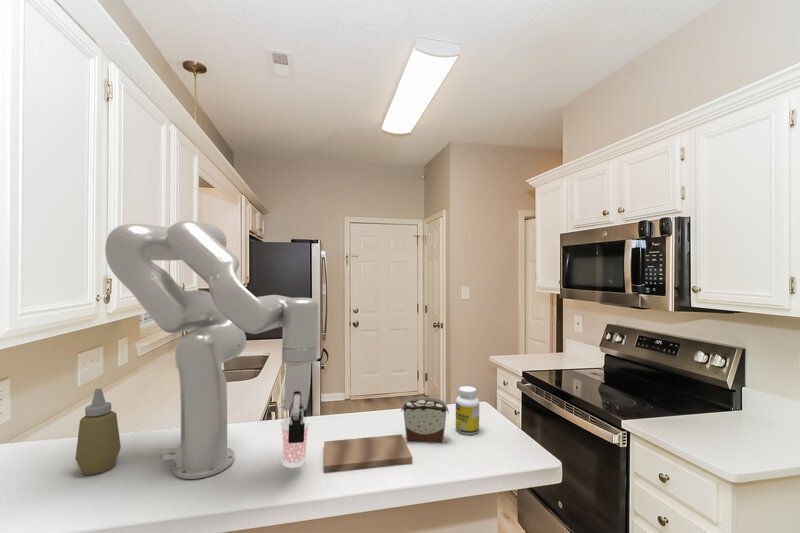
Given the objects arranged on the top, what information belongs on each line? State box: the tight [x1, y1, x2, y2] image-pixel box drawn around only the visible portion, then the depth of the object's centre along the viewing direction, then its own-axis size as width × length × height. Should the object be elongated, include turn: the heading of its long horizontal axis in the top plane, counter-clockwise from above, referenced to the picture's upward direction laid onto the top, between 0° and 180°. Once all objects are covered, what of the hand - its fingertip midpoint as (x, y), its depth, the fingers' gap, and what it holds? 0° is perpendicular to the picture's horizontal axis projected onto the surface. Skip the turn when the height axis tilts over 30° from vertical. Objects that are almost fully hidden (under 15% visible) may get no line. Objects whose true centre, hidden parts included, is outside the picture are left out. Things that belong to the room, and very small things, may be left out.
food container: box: [400, 396, 450, 445], centre depth 101 cm, size 12×6×10 cm, turn 85°
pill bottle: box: [455, 385, 480, 436], centre depth 106 cm, size 6×6×12 cm
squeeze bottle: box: [74, 388, 121, 476], centre depth 86 cm, size 8×8×18 cm
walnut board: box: [323, 434, 413, 474], centre depth 92 cm, size 20×12×2 cm, turn 101°
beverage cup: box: [280, 416, 311, 469], centre depth 84 cm, size 6×6×14 cm
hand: (297, 434), depth 84 cm, fingers closed on beverage cup, 6 cm apart
